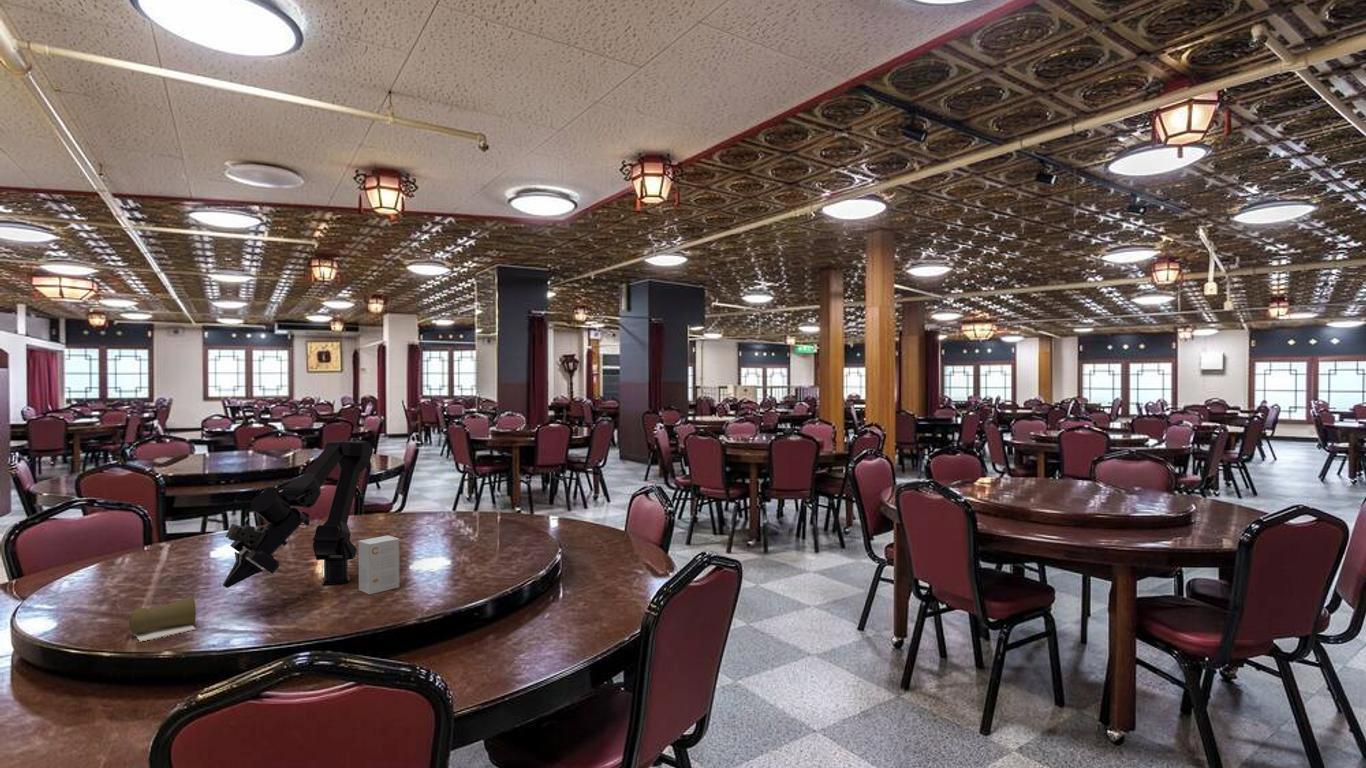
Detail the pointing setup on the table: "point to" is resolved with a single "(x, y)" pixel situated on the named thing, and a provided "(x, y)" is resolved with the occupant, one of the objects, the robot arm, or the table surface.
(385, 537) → the small box
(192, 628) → the mat
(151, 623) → the cork
